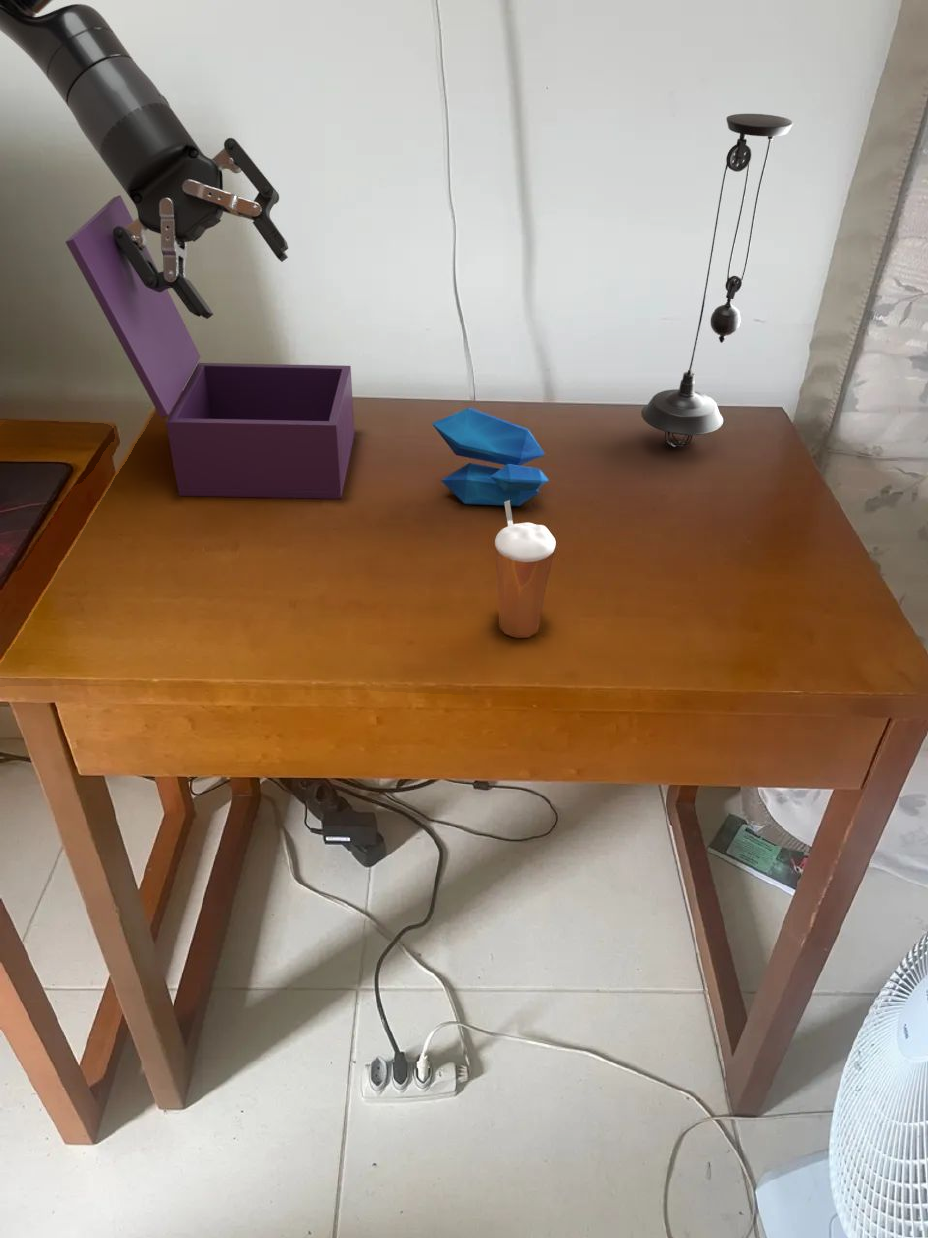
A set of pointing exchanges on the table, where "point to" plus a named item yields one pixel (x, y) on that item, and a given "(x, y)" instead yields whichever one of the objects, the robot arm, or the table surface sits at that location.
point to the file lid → (135, 308)
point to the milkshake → (522, 575)
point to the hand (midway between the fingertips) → (245, 286)
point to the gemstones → (491, 459)
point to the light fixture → (684, 405)
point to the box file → (263, 431)
